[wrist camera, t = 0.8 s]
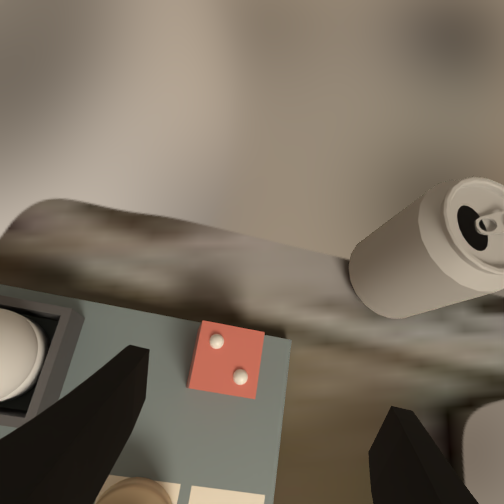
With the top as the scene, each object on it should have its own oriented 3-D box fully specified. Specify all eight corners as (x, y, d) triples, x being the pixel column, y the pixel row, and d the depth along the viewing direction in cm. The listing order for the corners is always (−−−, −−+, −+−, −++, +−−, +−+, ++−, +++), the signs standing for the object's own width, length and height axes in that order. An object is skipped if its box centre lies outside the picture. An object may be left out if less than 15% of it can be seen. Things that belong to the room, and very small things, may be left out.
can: (334, 242, 32) (419, 168, 21) (407, 234, 34) (520, 162, 23) (357, 326, 30) (465, 293, 19) (433, 313, 32) (572, 276, 21)
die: (243, 397, 26) (256, 399, 21) (185, 387, 25) (188, 388, 21) (252, 339, 27) (266, 331, 23) (198, 329, 26) (203, 319, 22)
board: (254, 623, 22) (274, 677, 18) (-238, 584, 19) (-354, 640, 15) (287, 341, 28) (307, 334, 24) (-78, 271, 25) (-127, 249, 21)
